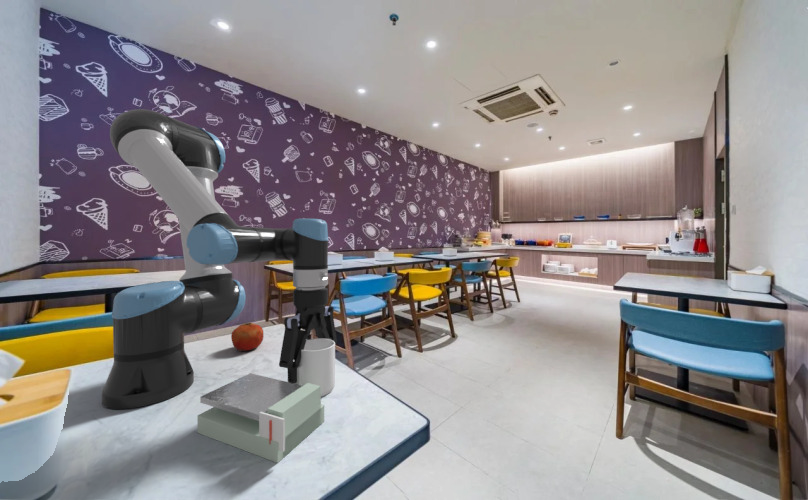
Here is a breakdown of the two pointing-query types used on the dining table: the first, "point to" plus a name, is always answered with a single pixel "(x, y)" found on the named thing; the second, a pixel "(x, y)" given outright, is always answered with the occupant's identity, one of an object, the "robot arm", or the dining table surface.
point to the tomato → (247, 336)
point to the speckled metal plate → (249, 395)
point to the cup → (319, 364)
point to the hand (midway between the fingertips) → (311, 385)
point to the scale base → (268, 424)
